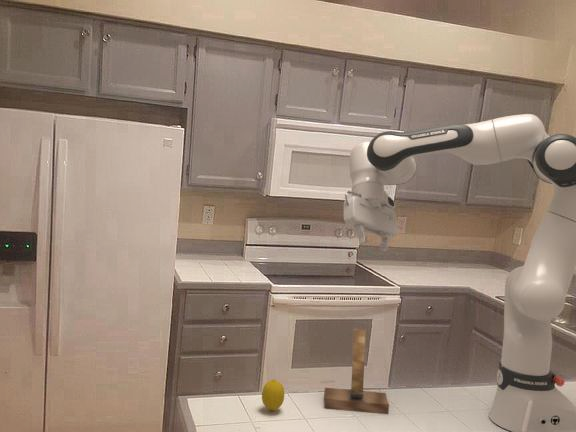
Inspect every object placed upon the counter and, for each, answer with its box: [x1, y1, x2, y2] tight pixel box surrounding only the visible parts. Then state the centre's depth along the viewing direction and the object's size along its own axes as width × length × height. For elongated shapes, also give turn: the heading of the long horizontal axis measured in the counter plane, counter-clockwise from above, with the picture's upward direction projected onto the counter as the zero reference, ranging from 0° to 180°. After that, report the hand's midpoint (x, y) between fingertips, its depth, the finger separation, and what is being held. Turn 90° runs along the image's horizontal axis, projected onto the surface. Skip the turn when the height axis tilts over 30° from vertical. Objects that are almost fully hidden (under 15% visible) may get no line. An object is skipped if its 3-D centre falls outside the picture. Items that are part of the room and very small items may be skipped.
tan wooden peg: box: [350, 328, 367, 398], centre depth 135 cm, size 3×3×17 cm
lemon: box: [261, 378, 285, 412], centre depth 128 cm, size 6×6×8 cm
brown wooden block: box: [323, 387, 390, 415], centre depth 135 cm, size 16×7×3 cm, turn 87°
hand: (374, 246), depth 139 cm, fingers open, 8 cm apart
